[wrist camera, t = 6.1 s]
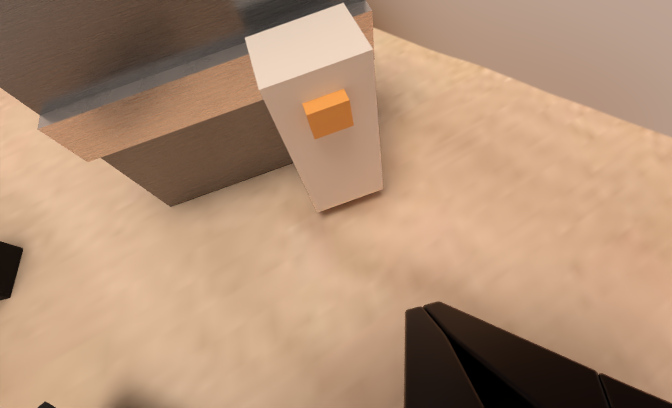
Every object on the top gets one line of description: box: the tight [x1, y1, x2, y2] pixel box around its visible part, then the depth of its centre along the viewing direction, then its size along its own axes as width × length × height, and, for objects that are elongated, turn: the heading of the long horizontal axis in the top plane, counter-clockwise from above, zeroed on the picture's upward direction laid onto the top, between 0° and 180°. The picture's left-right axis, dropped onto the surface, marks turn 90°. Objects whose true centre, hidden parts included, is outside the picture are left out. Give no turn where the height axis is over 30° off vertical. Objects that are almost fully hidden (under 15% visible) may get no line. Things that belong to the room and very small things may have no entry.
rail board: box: [0, 0, 374, 207], centre depth 20 cm, size 6×18×16 cm, turn 108°
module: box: [245, 3, 383, 213], centre depth 19 cm, size 5×5×11 cm
